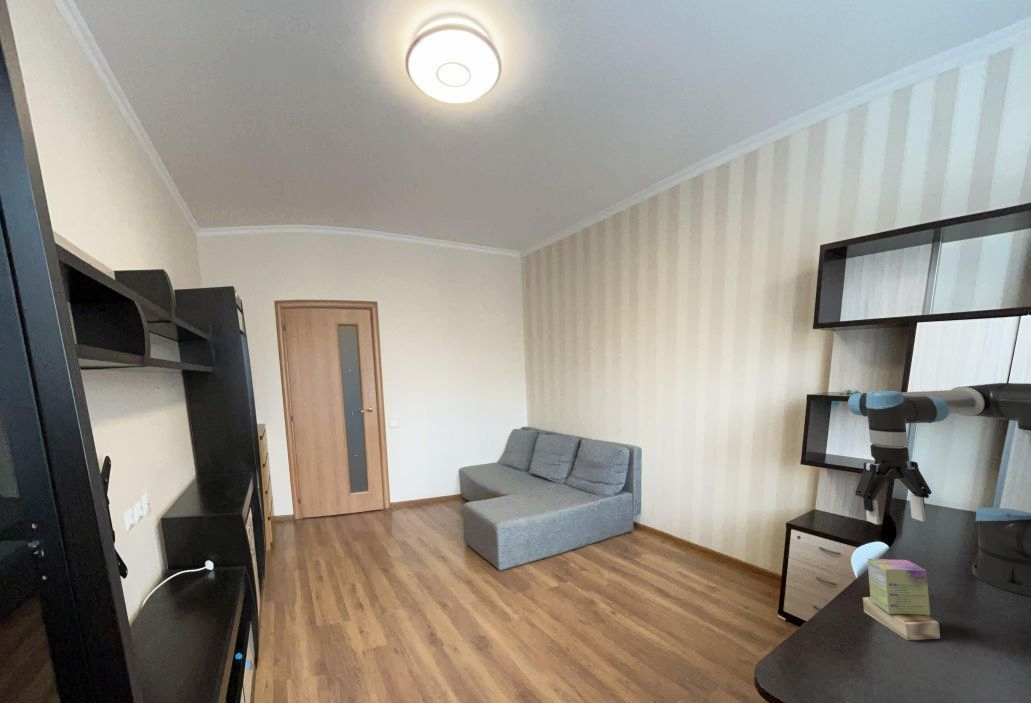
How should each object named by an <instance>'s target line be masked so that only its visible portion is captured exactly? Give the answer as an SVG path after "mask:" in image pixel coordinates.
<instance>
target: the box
mask: <svg viewBox="0 0 1031 703" xmlns="http://www.w3.org/2000/svg"><path fill="white" fill-rule="evenodd" d="M867 570H868V581H869V582H868V583H869V594H870V595H869V597H871V601H872V602H873V603H875V604H876V605H877V606H879V607H880V608H882V609H883V610H885V611H886V612H887V613H889V614H916V615H927V616H931V610H930V609H931V607H930V597H929V596H930V595H929V587H928V577H927V576H928V575H927V569H925V568H923V567H921V566H919V565H918V564H916V563H914V562H912V561H909V560H908V559H888V558H887V559H885V558H884V559H883V558H882V559H881V558H867Z"/></svg>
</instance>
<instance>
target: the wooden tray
mask: <svg viewBox="0 0 1031 703" xmlns="http://www.w3.org/2000/svg"><path fill="white" fill-rule="evenodd" d="M862 604H863V613H865V614H867V615H868V616H870V617H871V618H873V619H874V620H876V621H877V622H879V623H880V624H882V625H883V626H885V627H886V628H888V629H889V630H891V631H893V632H894V633H895V634H897V635H899V636H900V637H902V638H903V639H904V640H906V641H920V640H921V641H922V640H934V639H935V640H938V639H941V634H940V622H938V621H937V620H935V619H933V618H931V617H930V616H929V615H916V614H889V613H887V612H886V611H885V610H883V609H882V608H880V607H879V606H877V605H876V604H875V603H873V602H872V601H871V597H870V596H866V597H864V596H863V597H862Z"/></svg>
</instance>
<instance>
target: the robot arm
mask: <svg viewBox="0 0 1031 703" xmlns="http://www.w3.org/2000/svg"><path fill="white" fill-rule="evenodd" d="M847 406H848V407H847V408H848V409H849V411H850V412H851V413H853V414H854V415H856V416H861V417H867V422H868V430H869V431H868V432H869V433H868V434H869V442H870V443H871V444H870V445H869V446H870V456H871V457H872V458H873V459H874V463H871V462H870V463H869V462H866V461H865V462H863V470H862V474H861V476H860V478H859V481H858V485H857V487H856V489H855V492H854V493H855V496H857V497H860V498H862V499H863V508H864V510H865V513H866V521H867V522H870V523H872V524H874V525H880V515H879V504H878V500H876V498H877V495H878V494H879V493H880V491H881V490H882V488H883V487H884V485H885V483H886V482H889V481H890V480H895V479H897V480H899V481H900V482H901V483H902V484H903V485H904V486H905V487H906V488H907V489H908V490H909V492H911V494H909V496H908V497H909V505H910V514H911V518H912V519H914V520H917V521H920V522H926V515H925V507H926V502H925V499H929V498H930V495H931V494H932V490H931V489H930V487H929V485H928V483H927V481H926V479H925V478H924V476H923V474H922V472H921V470H920V469H919V464H918V462H917V461H912V460H910V454H909V448H908V447H907V446H908V445H909V440H908V439H909V438H908V432H907V424H922V423H923V424H924V423H925V424H926V423H927V424H932V423H940V422H942V421H944V420H946V419H947V418H948V417H949V415H950V414H953V415H954V414H957V415H960V416H964V417H984V418H991V419H999V420H1006V421H1016V422H1017V427H1018V428H1017V429H1018V430H1019V431H1021V432H1023V433H1025V434H1026V435H1027V436H1028V443H1029V448H1030V449H1031V383H1021V382H1020V383H1019V382H1018V383H1017V382H1016V383H1012V382H998V383H997V382H995V383H986V384H975V385H967V386H966V385H965V386H956V387H953V388H951V389H948V390H947V389H946V390H929V391H928V390H927V391H924V390H923V391H922V390H921V391H905V392H904V391H902V392H901V391H897V390H870V391H868V392H862V393H861V392H860V393H859V392H857V393H854V394H851V395H850V396H849V398H848V400H847ZM975 522H976V523H975V525H976V531H977V532H976V533H977V543H978V544H977V545H978V554H977V556H976V557H975V560H974V561H973V564H972V567H971V569H972V574H973V576H975V578H977V579H978V580H980V581H982V582H984V583H986V584H989V585H991V586H993V587H996V588H999V589H1002V590H1004V591H1008V592H1011V593H1015V594H1019V595H1024V596H1028V597H1031V512H1028V511H1025V510H1019V509H1013V508H1012V509H1011V508H1004V507H989V506H988V507H980V508H977V509H976V511H975Z"/></svg>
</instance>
